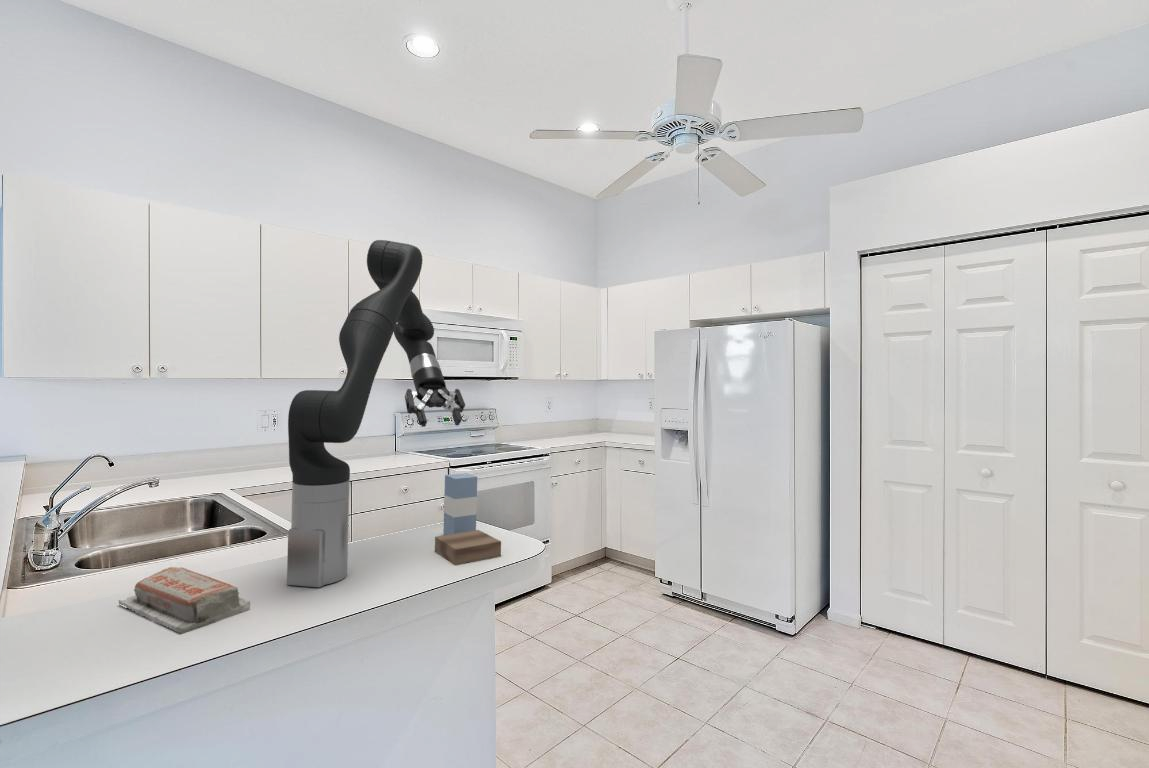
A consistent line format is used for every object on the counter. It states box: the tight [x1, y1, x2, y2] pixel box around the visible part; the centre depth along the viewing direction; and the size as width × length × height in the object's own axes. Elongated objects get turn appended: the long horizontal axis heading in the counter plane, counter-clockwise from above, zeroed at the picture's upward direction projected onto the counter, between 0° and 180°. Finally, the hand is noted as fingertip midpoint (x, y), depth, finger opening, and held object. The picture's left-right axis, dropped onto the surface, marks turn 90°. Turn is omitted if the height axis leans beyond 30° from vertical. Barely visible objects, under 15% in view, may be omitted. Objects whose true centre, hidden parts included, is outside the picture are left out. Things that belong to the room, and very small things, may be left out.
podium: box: [434, 529, 502, 566], centre depth 112 cm, size 10×10×3 cm
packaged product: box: [118, 566, 251, 635], centre depth 83 cm, size 18×5×10 cm
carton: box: [442, 472, 478, 536], centre depth 123 cm, size 6×6×14 cm
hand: (441, 424), depth 133 cm, fingers open, 8 cm apart
